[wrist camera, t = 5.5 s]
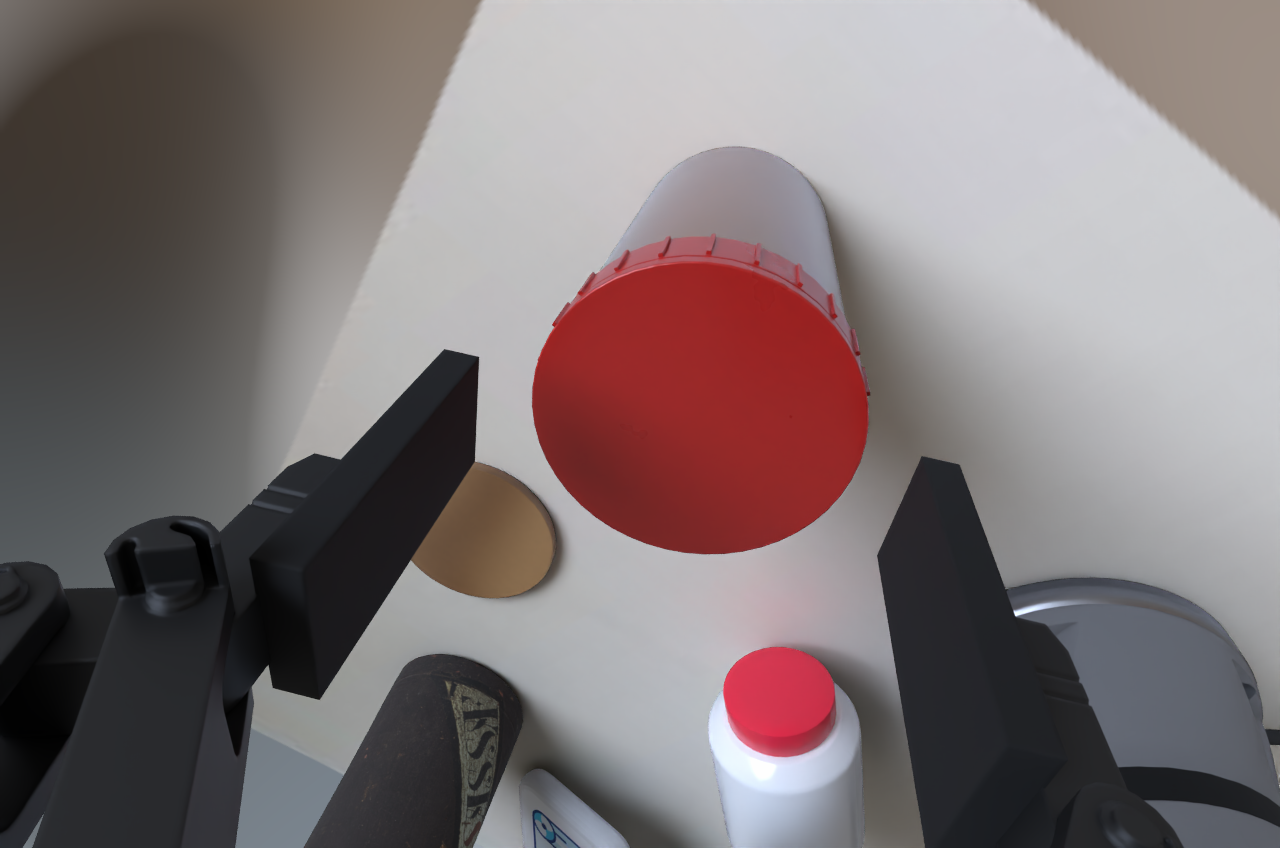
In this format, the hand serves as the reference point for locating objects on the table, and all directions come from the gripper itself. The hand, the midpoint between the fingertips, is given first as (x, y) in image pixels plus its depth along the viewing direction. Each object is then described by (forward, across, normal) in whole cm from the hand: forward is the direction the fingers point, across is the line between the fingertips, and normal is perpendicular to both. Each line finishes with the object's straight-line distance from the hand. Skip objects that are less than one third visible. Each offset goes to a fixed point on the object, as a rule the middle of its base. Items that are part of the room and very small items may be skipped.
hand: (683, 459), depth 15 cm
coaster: (+16, +10, +18) cm, 26 cm away
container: (+16, +10, +33) cm, 38 cm away
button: (+15, +5, +42) cm, 45 cm away
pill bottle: (+12, -11, +31) cm, 35 cm away
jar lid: (+2, 0, 0) cm, 2 cm away
